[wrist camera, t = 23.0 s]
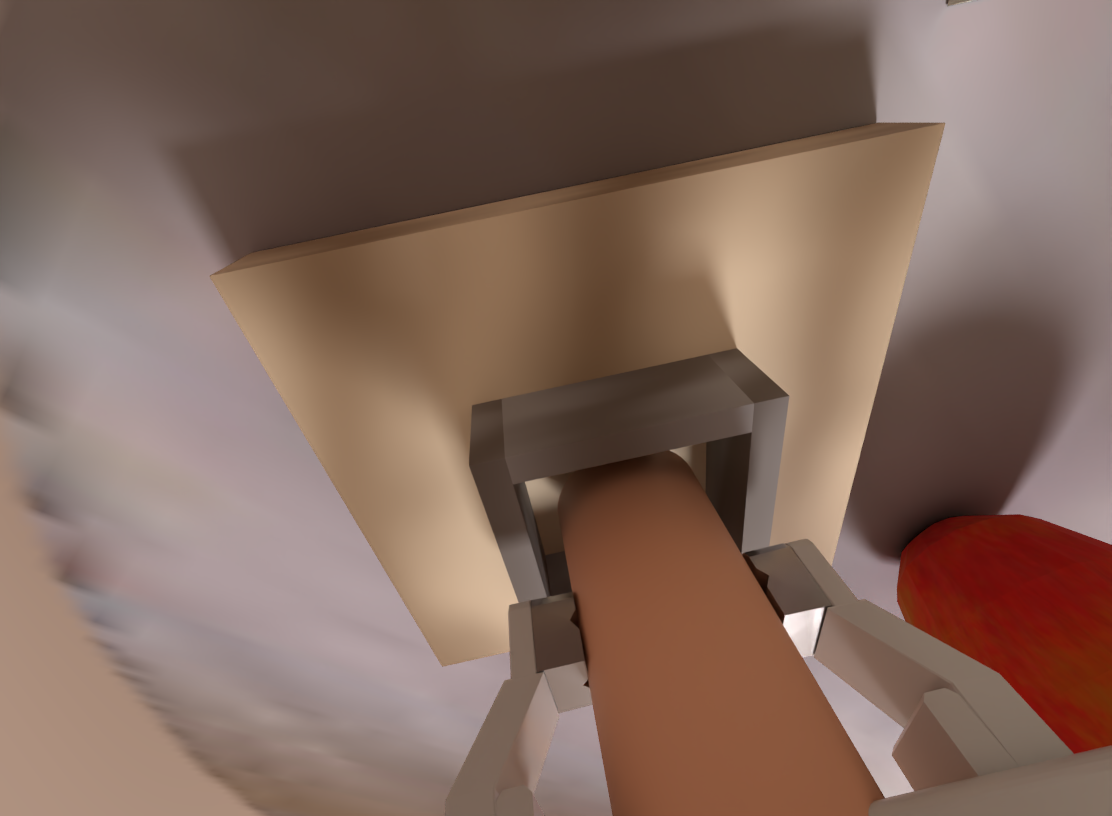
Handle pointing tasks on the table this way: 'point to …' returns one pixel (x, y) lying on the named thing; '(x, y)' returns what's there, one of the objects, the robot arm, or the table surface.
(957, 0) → the housing
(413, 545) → the socket plate
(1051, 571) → the apple
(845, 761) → the pin
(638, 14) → the table surface
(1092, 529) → the table surface
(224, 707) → the table surface
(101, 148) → the table surface
